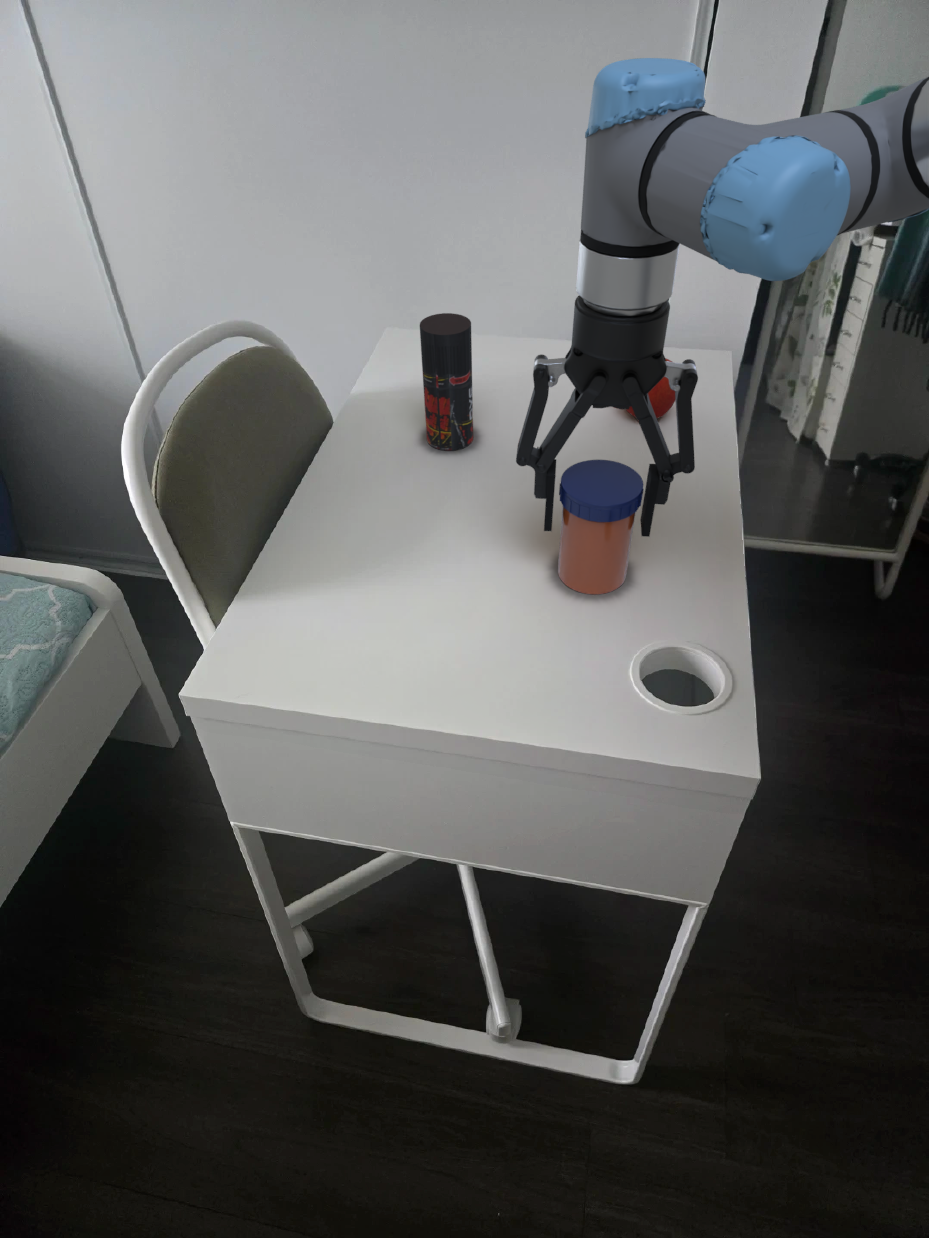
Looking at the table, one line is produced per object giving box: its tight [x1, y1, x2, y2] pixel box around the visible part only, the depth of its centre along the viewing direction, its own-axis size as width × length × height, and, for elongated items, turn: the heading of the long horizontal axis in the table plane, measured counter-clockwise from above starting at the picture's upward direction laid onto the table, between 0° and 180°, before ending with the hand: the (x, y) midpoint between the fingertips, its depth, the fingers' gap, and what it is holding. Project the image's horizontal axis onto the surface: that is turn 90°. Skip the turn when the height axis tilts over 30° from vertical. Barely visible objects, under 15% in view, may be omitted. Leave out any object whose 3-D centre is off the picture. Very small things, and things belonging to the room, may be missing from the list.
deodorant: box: [419, 312, 474, 452], centre depth 98 cm, size 6×6×15 cm
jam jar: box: [557, 506, 637, 595], centre depth 80 cm, size 7×7×11 cm
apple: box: [625, 357, 676, 419], centre depth 104 cm, size 8×8×8 cm
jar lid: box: [558, 459, 645, 522], centre depth 77 cm, size 8×8×2 cm
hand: (596, 525), depth 80 cm, fingers open, 9 cm apart
